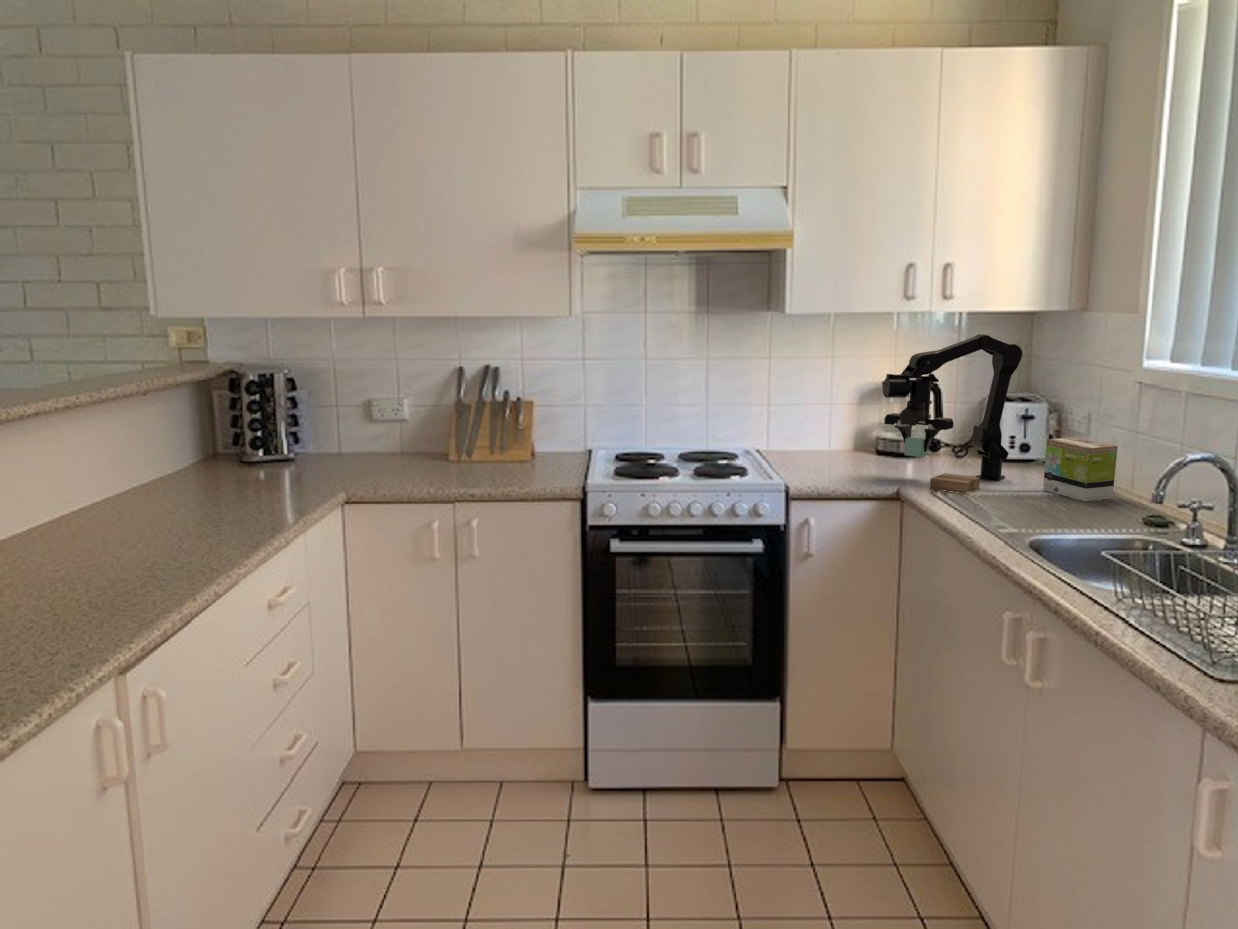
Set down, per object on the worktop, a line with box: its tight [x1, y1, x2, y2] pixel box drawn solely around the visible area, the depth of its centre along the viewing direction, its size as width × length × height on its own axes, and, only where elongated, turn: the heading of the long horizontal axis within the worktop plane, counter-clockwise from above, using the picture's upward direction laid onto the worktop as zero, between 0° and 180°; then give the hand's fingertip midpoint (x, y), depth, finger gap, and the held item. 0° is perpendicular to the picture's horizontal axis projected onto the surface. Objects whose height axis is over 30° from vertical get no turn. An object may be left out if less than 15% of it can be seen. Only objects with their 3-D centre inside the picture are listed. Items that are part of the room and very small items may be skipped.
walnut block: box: [929, 473, 981, 494], centre depth 257 cm, size 10×10×4 cm
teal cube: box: [904, 435, 930, 458], centre depth 269 cm, size 5×5×5 cm
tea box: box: [1042, 436, 1119, 502], centre depth 248 cm, size 15×10×15 cm, turn 19°
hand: (916, 450), depth 270 cm, fingers closed on teal cube, 5 cm apart
